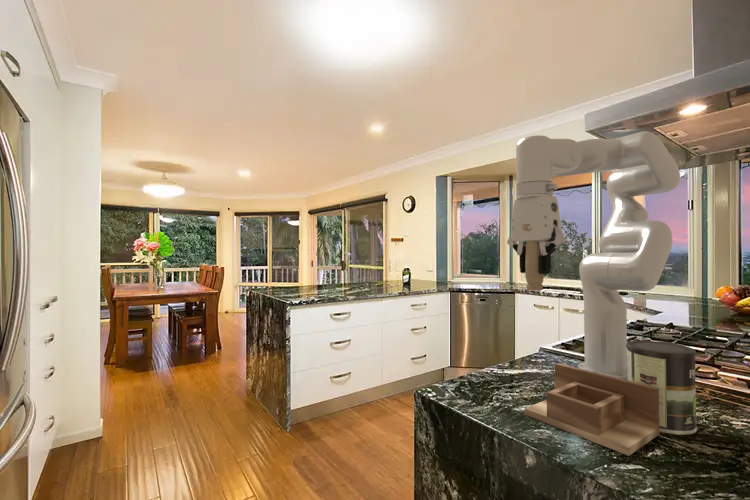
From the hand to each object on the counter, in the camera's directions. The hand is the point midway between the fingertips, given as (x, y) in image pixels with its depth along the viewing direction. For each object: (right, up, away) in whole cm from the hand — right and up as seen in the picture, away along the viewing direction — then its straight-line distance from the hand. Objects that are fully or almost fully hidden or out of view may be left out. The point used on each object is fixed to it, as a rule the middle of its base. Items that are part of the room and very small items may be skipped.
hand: (534, 272), depth 83 cm
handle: (0, -4, 0) cm, 4 cm away
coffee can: (+17, -27, -15) cm, 35 cm away
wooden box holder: (+3, -27, -15) cm, 31 cm away
